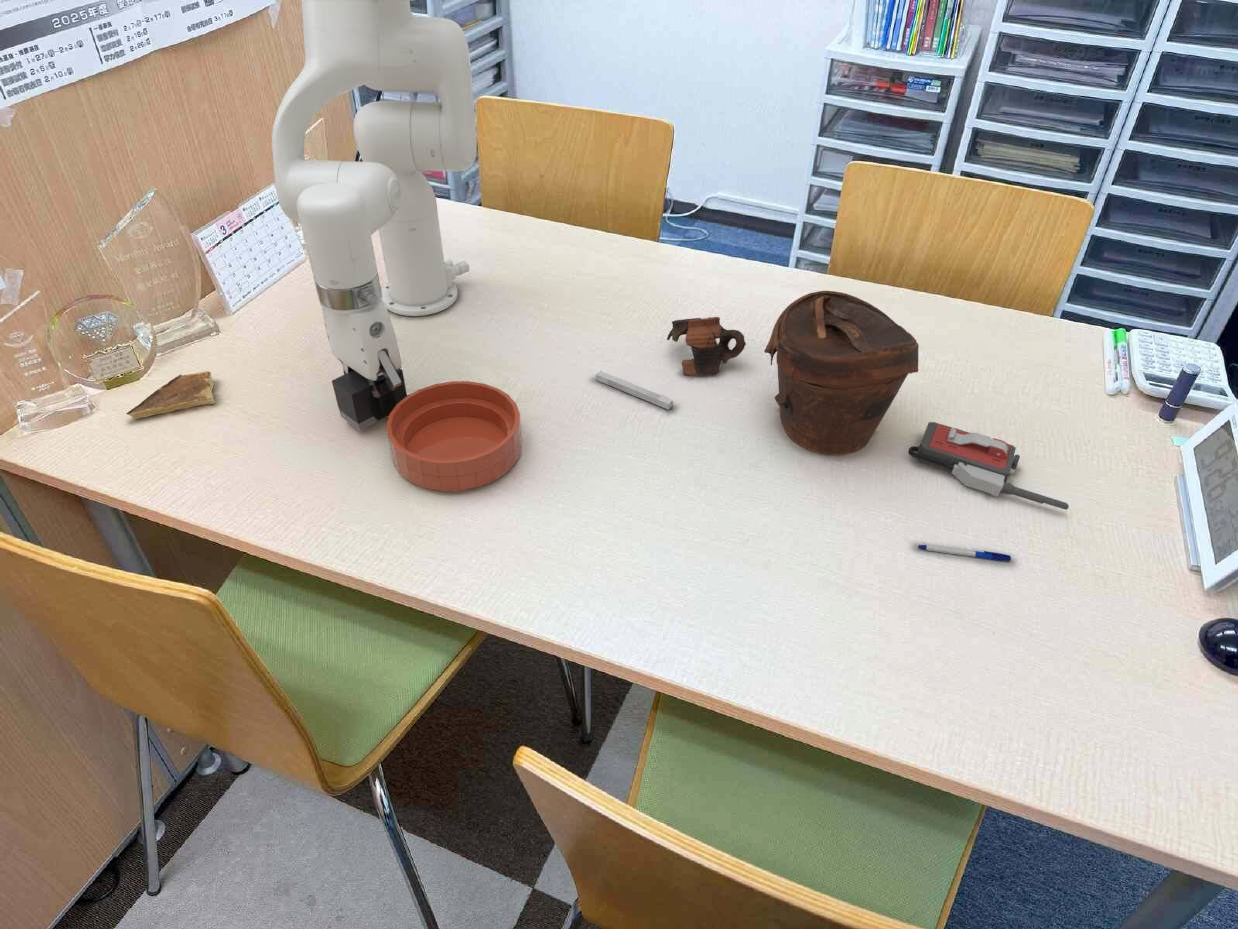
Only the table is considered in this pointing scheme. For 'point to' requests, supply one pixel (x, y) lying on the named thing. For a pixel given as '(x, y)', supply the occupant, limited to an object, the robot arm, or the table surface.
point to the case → (837, 369)
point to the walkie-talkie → (974, 461)
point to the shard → (177, 395)
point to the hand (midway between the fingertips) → (374, 405)
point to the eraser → (361, 398)
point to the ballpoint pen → (967, 553)
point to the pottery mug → (706, 344)
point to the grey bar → (635, 390)
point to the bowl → (454, 435)
